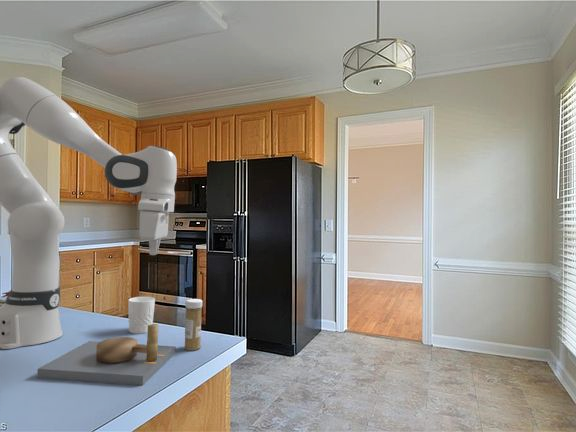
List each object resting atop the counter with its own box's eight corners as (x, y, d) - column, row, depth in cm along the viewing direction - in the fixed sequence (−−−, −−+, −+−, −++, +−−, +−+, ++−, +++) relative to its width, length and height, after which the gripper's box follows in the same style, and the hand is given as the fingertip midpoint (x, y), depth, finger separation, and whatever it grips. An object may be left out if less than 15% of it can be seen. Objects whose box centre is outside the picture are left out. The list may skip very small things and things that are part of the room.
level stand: (37, 377, 77) (37, 368, 77) (88, 348, 95) (89, 340, 95) (142, 385, 76) (143, 375, 76) (174, 354, 94) (175, 346, 94)
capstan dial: (87, 361, 82) (88, 326, 82) (111, 347, 91) (113, 316, 91) (146, 366, 80) (147, 331, 80) (165, 352, 89) (166, 320, 89)
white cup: (159, 328, 114) (160, 298, 114) (141, 336, 107) (143, 303, 107) (139, 325, 117) (140, 295, 117) (121, 332, 109) (122, 300, 110)
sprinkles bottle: (202, 349, 98) (204, 300, 98) (186, 352, 95) (188, 302, 96) (197, 344, 102) (199, 297, 102) (181, 346, 99) (183, 299, 99)
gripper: (153, 205, 108) (149, 250, 107) (136, 202, 88) (131, 257, 87) (174, 207, 109) (171, 252, 108) (162, 204, 89) (158, 259, 88)
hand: (153, 254), depth 98 cm, fingers closed
